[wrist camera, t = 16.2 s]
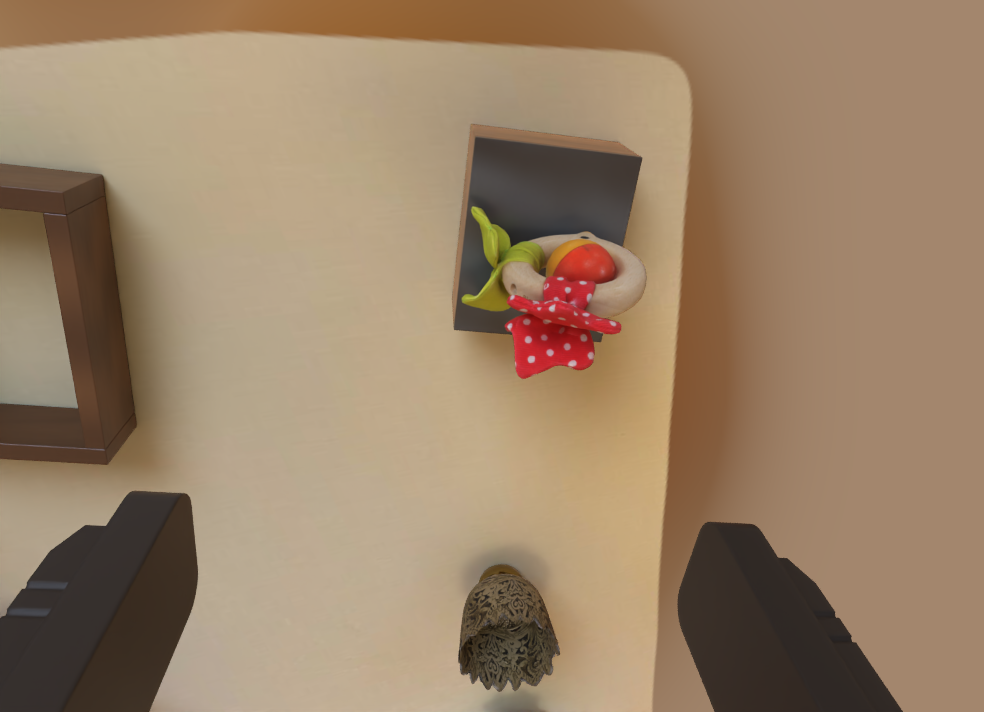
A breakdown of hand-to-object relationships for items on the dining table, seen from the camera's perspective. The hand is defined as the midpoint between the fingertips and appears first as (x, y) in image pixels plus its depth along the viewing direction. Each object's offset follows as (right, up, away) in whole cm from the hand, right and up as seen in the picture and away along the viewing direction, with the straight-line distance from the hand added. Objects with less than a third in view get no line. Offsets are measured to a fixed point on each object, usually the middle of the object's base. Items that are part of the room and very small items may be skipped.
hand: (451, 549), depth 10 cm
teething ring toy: (+3, +9, +26) cm, 28 cm away
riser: (+3, +11, +31) cm, 33 cm away
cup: (+1, -15, +44) cm, 47 cm away
